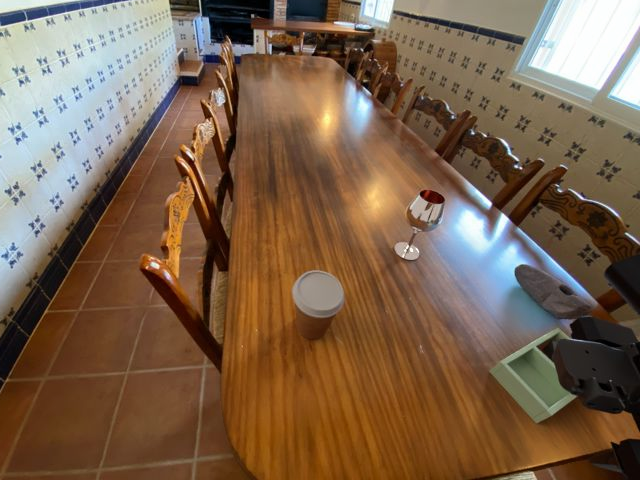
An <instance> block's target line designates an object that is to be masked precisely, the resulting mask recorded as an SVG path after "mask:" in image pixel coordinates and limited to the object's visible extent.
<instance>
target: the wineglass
mask: <svg viewBox="0 0 640 480" xmlns="http://www.w3.org/2000/svg"><path fill="white" fill-rule="evenodd" d="M446 200H447V199H446V198H445V196H444V195H443V194H442V193H441V192H439V191H436V190H433V189H429V188H428V189H427V188H426V189H425V188H424V189H421V190H420V191H418V193H417V194H416V195H415V196H414V198H413V199H412V200H410V202H409V204H408V205H407V206H406V208H405V211H404V217H405V220H406V222H407V224H408V225H409V227H410V228H411V229H412V230H413V231H412V232H413V233H412V235H411V237H410V240H409V241H408V242H405V241H400V242H397V243H396V244H395V245H394V247H393V248H394V252H395V254H396V255H397V256H399V257H400V258H401V259H404V260H405V261H415V260H417V259H418V258H419V257H420V251H419V249H418V248H417V247H416V246H415V245H414V244H413V242H414V240H415V238H416V236H417V234H418V233H426V232H431V231H433V230H434V231H435V229H437V228H438V227H439V226H440V225H441V223H442V221H443V219H444V214H445V208H446V202H447V201H446Z"/></svg>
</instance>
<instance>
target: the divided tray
mask: <svg viewBox="0 0 640 480" xmlns="http://www.w3.org/2000/svg"><path fill="white" fill-rule="evenodd" d="M564 338H565V339H572V338H571V336H569V335H567V334H566V333H565V332H563V330H561V329H560V328H559V327H556V328H553V329H552V330H551V331H549V332H547V333H546V334H544V335H542V336H541V337H539V338H537V339H535V340H534V341H532V342H530V343H529V344H527V345H525V346H523V347H522V348H520V349H519V350H517V351H515V352H513V353H512V354H510V355H509V356H507V357H505V358H503V359H502V360H500V361H499V362H498V363H496V364H495V365H494V366H493V367H492V368H491V369H489V371H488V372H489V373H490V374H491V375H492V377H494V379H495V380H496V381H497V382H498V383H499V384H500V385H501V386H502V387H503V388H504V390H505V391H506V392H507V393H508V394H509V395H510V397H512V398H513V400H514V401H515V402H516V403H517V404H518V405H519V406H520V407H521V409H522V410H523V411H524V412H525V413H526V414H527V415H528V417H530V419H531V420H532V421H533V422H534V423H535V424H539V423H541V422H543V421H545V420H547V419H548V418H550V417H552V416H553V415H555V414H556V413H558V412H559V411H560V410H561V409H563V408H564V407H566V406H567V405H568V404H569V403H571V402H572V401H573V400H575V399H576V398H577V397H578V396H575V395H572V394H571V393H570V392H568V391H566V390H565V389H564V388H563V387H562V386H561V385H560V383H559V380H558V375H557V371H556V368H555V365H554V363H553V362H552V361H551V360H550V359H549V358H548V357H547V356H546V355H544V351H543V348H544V347H545V346H546V345H548V344H549V343H550V342H551V341H554V342H558V340H560V339H564Z"/></svg>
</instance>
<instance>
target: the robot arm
mask: <svg viewBox="0 0 640 480" xmlns="http://www.w3.org/2000/svg"><path fill="white" fill-rule="evenodd" d="M603 277H604V279H605V280H606V281H607V283H609V284H610V286H611V287H613V289H614V290H615V291H616V292H617V293H618V294H619V295H620V297H621V298H622V299H623V300H624V301H625V302H626V303H627V305H628V306H629V307H630V308H631V309H632V310H633V311H634V312H635V313H636V315H637V316H638V317H639V318H640V253H637V254H633V255H630V256H627V257H624V258H623V259H620V260H616V261H613V262H611V264H609V266H607V268H606V269H605V271H604V272H603ZM568 326H569V328H570V330H571V333H570V338H571V339H565V338H564V339H560V340H558V342H557V345H556V348H555V350H554V353H553V355H552V360H553V362H554V365H555V368H556V371H557V375H558V380H559V383H560V385H561V386H562V387H563V388H564V389H565V390H566V391H568V392H570V393H571V394H572V395H575V396H577V397H578V398H579V399H580V402H581V405H582V406H583V407H585V408H586V409H588V410H593V411H596V412H597V411H598V412H602V413H606V414H611V415H620V414H621V413H623V412H624V413H625V412H626V413H628V414H631V416H632V418H633V421H634V423H635V426H636V429H637V430H638V432H639V433H640V341H639V339H638V337H637V336H636V334H635V332H634V330H633V328H632V327H631V328H630V327H627V326H625V325H622V324H617V323H615V322H612V321H608V320H604V319H601V318H598V317H596V316H593V315H588V316H581V317H579V318H577V319H574V320H573V321H572V322H570V324H568ZM610 445H611V448H612V450H609V451H606V452H602V453H598V454H595V455H593V456H592V457H590V458H588V461H589V464H591V465H593V466H595V467H598V468H601V469H605V470H608V471H609V470H610V471H613V472H617V473H621V474H622V475H623V476H624V477H625V478H627V480H640V439H639V438H625V439H622V440H620V441H619V443H616V442H615V441H610Z"/></svg>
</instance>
